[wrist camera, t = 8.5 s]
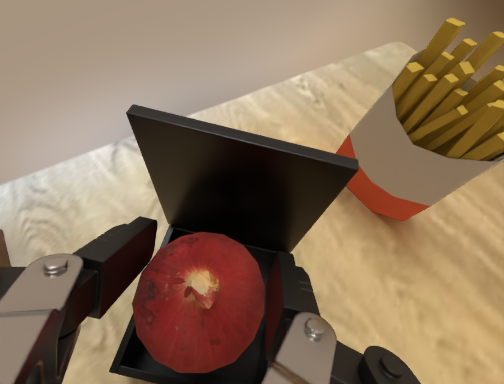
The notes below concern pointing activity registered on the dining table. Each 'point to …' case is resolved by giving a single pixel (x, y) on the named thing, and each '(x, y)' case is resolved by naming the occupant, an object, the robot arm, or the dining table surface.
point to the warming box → (219, 380)
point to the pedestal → (3, 252)
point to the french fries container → (430, 128)
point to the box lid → (237, 179)
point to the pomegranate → (199, 303)
